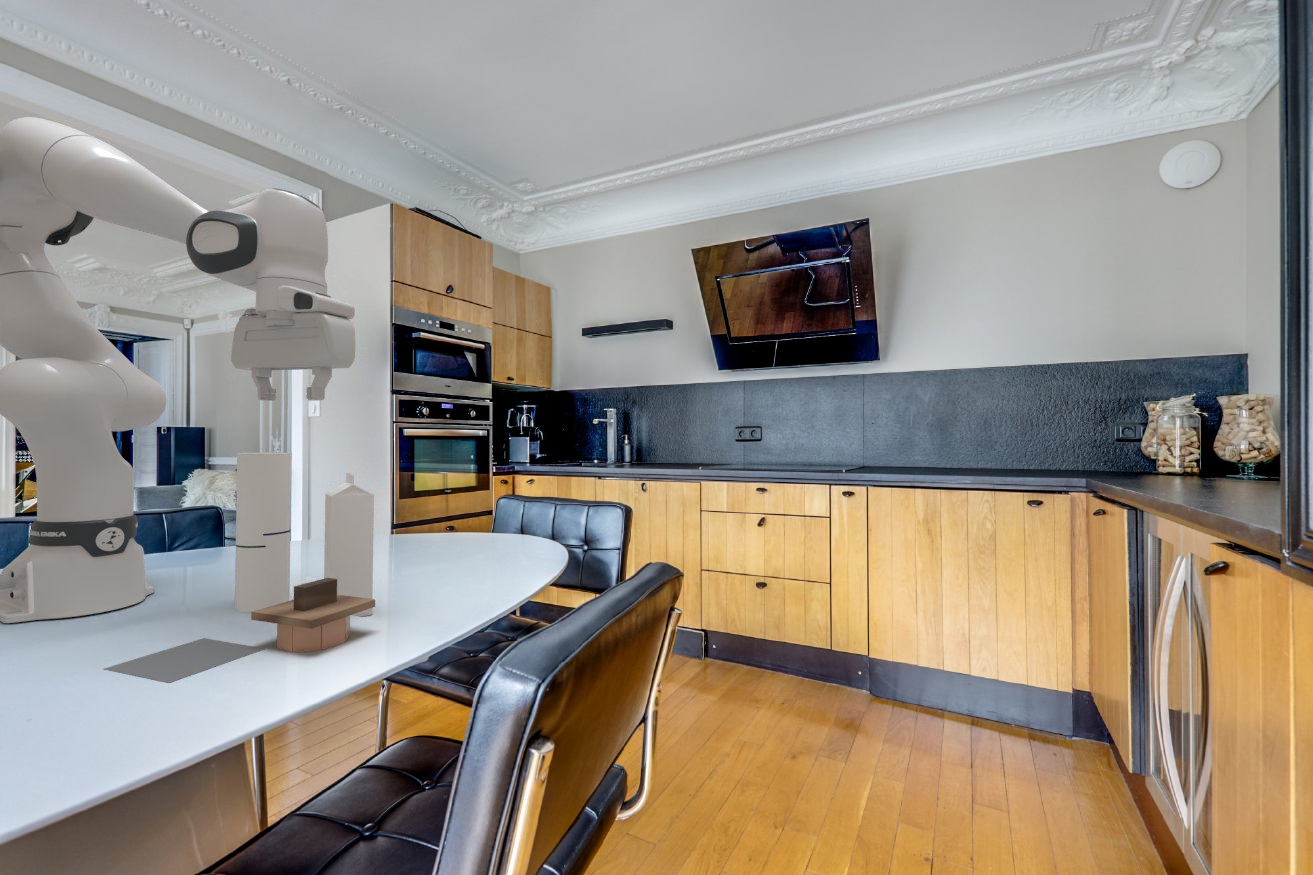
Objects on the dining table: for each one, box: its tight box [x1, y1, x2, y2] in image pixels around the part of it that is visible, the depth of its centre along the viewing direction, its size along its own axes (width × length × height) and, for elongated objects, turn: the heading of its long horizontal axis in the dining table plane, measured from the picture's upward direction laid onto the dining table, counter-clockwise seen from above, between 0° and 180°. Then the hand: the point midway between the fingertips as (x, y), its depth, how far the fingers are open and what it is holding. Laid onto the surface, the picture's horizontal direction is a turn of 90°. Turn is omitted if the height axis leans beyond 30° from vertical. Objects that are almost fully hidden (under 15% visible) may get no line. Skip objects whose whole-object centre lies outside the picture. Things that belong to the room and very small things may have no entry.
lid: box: [250, 577, 376, 629], centre depth 77 cm, size 10×10×4 cm
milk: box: [323, 472, 375, 618], centre depth 92 cm, size 6×6×22 cm
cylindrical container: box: [234, 452, 293, 613], centre depth 92 cm, size 7×7×25 cm
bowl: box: [276, 615, 351, 653], centre depth 77 cm, size 8×8×5 cm
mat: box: [103, 637, 266, 684], centre depth 70 cm, size 11×11×1 cm
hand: (290, 400), depth 85 cm, fingers open, 8 cm apart
